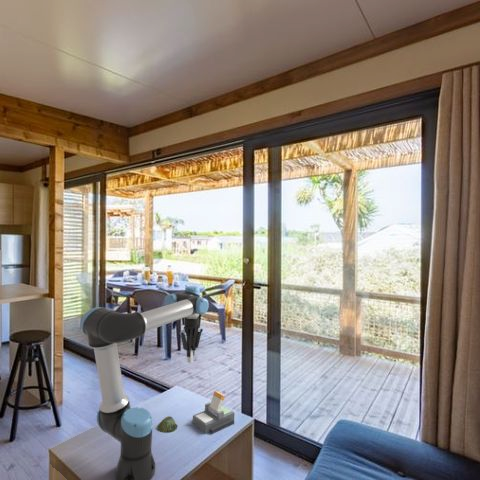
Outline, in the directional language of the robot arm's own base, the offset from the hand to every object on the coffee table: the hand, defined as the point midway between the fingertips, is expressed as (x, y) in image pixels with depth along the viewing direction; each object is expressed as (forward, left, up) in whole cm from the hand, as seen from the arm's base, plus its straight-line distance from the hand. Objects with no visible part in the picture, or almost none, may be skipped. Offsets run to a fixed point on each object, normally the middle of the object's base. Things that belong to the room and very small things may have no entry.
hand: (190, 362), depth 171 cm
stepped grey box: (+8, -11, -29) cm, 32 cm away
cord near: (+8, -18, -29) cm, 35 cm away
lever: (+7, -11, -24) cm, 27 cm away
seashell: (-12, 0, -29) cm, 32 cm away
